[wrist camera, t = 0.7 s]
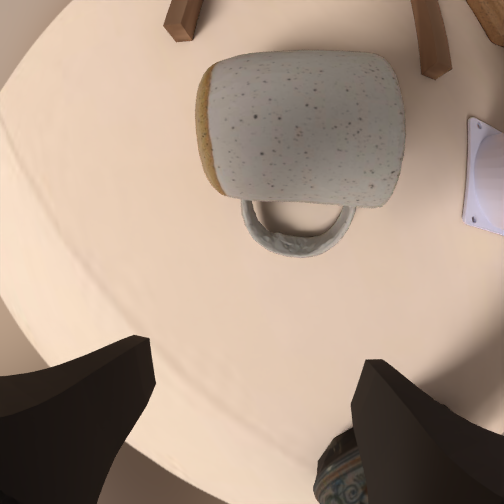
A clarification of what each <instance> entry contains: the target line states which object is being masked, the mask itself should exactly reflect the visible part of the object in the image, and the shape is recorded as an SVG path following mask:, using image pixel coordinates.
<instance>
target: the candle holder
mask: <svg viewBox="0 0 504 504" xmlns="http://www.w3.org/2000/svg"><path fill="white" fill-rule="evenodd" d="M466 2H467V3H468V5H469V6H470V8H471V9H472V11H473V12H474V14H475V16H476V17H477V19H478V21H479V22H480V24H481V26H482V27H483V29H484V31H485V32H486V34H487V36H488V37H489V39H490V40H491V42H493V43H494V44H497V45H499V46H502V47H504V0H466Z"/></svg>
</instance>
